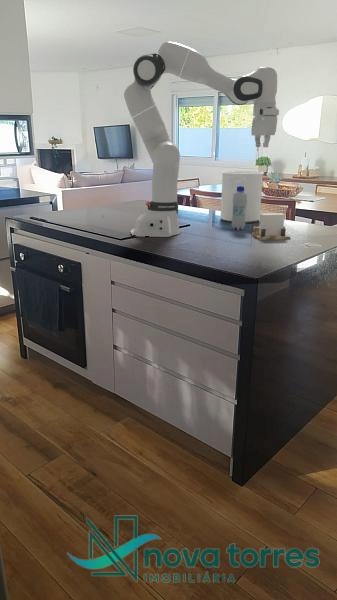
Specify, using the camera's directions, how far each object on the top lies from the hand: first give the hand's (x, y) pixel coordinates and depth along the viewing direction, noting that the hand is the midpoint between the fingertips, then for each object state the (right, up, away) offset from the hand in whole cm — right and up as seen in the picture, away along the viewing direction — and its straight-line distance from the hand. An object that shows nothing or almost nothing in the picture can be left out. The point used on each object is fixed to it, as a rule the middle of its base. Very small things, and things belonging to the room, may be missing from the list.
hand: (261, 147), depth 188 cm
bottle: (-6, -31, +24) cm, 40 cm away
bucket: (-2, -22, +48) cm, 53 cm away
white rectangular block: (+6, -36, +7) cm, 37 cm away
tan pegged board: (+6, -37, +8) cm, 38 cm away
